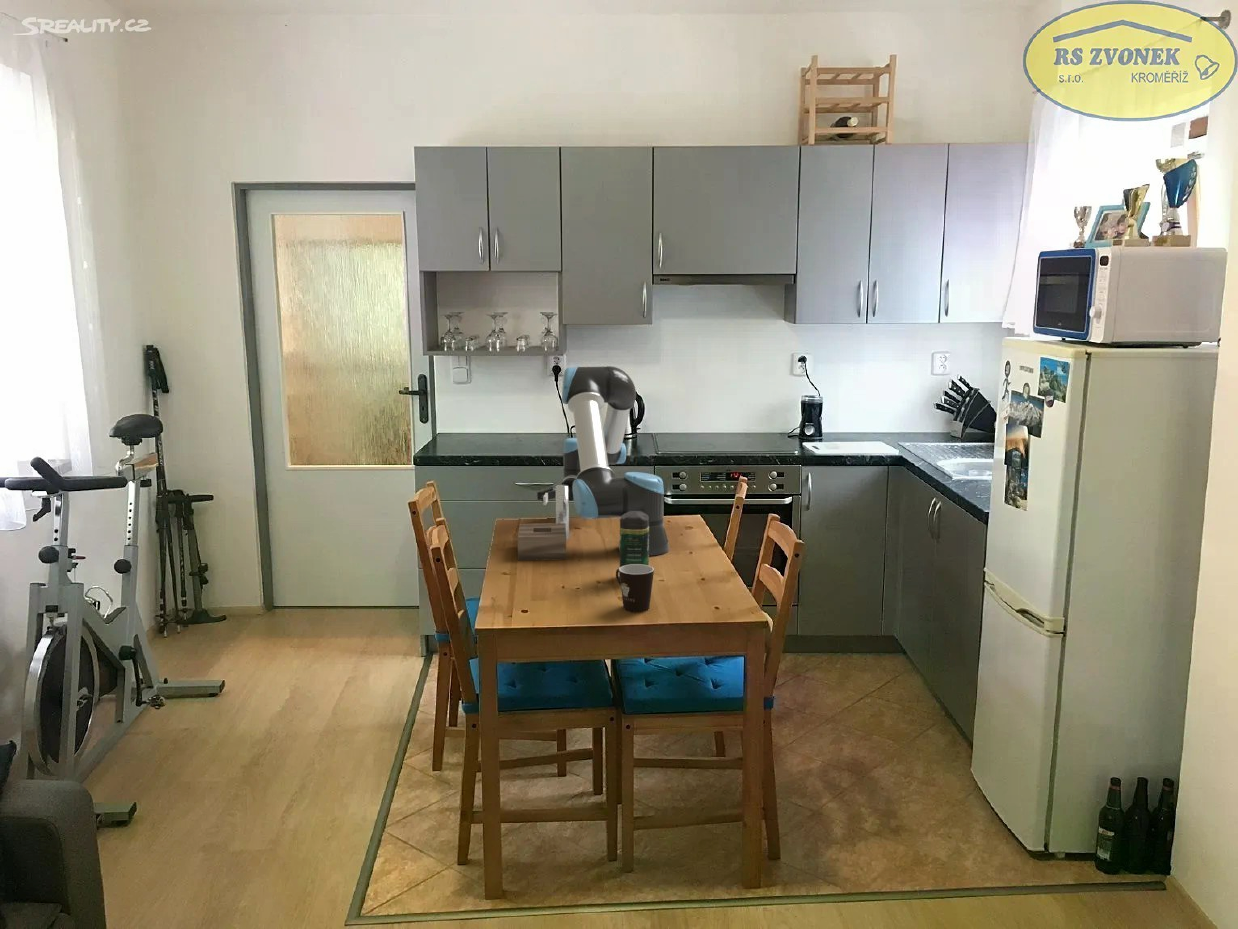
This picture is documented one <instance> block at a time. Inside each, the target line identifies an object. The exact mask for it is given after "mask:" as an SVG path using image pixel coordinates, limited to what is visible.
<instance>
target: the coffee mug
mask: <svg viewBox="0 0 1238 929" xmlns="http://www.w3.org/2000/svg"><path fill="white" fill-rule="evenodd" d="M654 571H655V569H654V567H653V566H651V565H649V566H648V565H641V564H631V565H625V566H622V567H620V566H619V568H617V569H616V571H615V578H616V580H617V583H618V584H619V586H620V590H621V599H622V605H623V606H622V607H623V608H622V609H623V610H624V611H626V612H628V611H629V612H630V613H636V612H638V613H644V612H643V611H645V612H647V611H649V610H650V607H651V597H652V588H653V582H654V574H655V572H654ZM648 609H649V610H648ZM646 610H647V611H646ZM629 612H628V613H629Z"/></svg>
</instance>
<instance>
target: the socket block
mask: <svg viewBox="0 0 1238 929" xmlns="http://www.w3.org/2000/svg"><path fill="white" fill-rule="evenodd" d="M518 559H519V560H518ZM536 559H538V560H536ZM540 559H566V560H567V540H566V523H556V522H555V523H554V522H553V523H547V522H546V523H519V527H518V532H517V560H518V561H541V560H540Z"/></svg>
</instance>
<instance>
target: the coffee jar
mask: <svg viewBox="0 0 1238 929" xmlns="http://www.w3.org/2000/svg"><path fill="white" fill-rule="evenodd" d="M619 541H620V551H619V568H620V567H622V566H625V565H631V564H641V565H648V566H650V564H649V561H650V556H649V517H648V515H647V514H645V513H644V512H643V511H628V512H627V513H625V514H623V515H622V516H621V517H620V519H619Z"/></svg>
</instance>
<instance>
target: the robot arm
mask: <svg viewBox="0 0 1238 929" xmlns="http://www.w3.org/2000/svg"><path fill="white" fill-rule="evenodd" d="M636 398H637V389H636V387H635V384H634V381H633V380H632V378H631V377H630V375H629V374H627V373H626V372H625V371H624V370H622V369H620V368H619V367H616V366H610V365H609V366H608V365H607V366H579V365H577V366H571V367H566V368H565V370H564V371H563V379H562V392H561V403H562V404H564V405H567V409H568V410H569V411H570V412H571V413H573V420H574V427H575V428H574V429H575V436H576V437H569V438H565V440H564V441H563V446H562V447H563V450H562V454H563V455H562V458H563V459H562V460H563V480H562V481H561V484H560V485H568V495H569V501H570V502H572V501H573V503H574V507H575V508H574V509H575V511H576V512H577V515H578V516H580V518H582V519H592V520H597V519H610V518H621V516H622V515H623V514H625V513H627V512H628V511H643V512H644V513H645V514H647V515H648V517H649V557H651V556H658V555H663V554H666V553H667V552H669V551H670V542H669V540H668V535H667V533H666V529H665V526H664V495H665V492H664V491H665V490H664V482H663V479H662V477H660V476H658V475H656V474H652V473H646V472H640V471H639V472H638V471H627V472H625V473H624V475H623V477H619V478H618V477H617V478H616V475H615V474H616V473H615V471H614V470H613V469H611V468H610V467H609V466H610V465H620V464H625V462H626V460H627V459H626V458H627V447H626V444H625V443H623V441H624V437H625V433H626V429H627V425H628V419H629V417H630V416H629V415H630V411H631V409H632V408H633V407H634V405H635V402H636ZM605 403H606V404H607V408H606V412H605V417H604V421H603V420H602V418H603V417H602V409H603V407H604V405H605ZM603 422H604V424H603ZM536 496H537V498H536V500H537V501H541V502H542V504H543V506H547V504H548V502H549V500H553V499H556V489H555V487H553V486H551V487H549V488H545V489H544V490H543V489H542V490H540V491H537V494H536ZM618 550H619V552H620V540H619V542H618Z"/></svg>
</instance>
